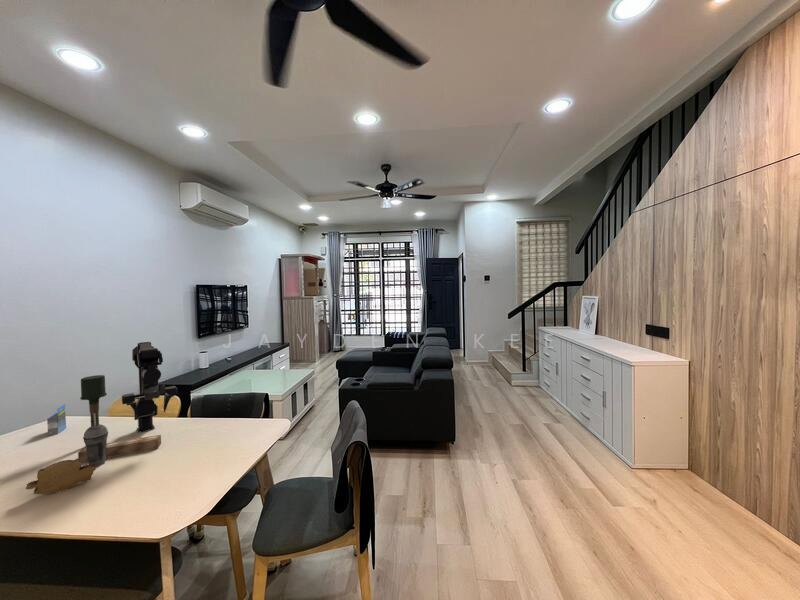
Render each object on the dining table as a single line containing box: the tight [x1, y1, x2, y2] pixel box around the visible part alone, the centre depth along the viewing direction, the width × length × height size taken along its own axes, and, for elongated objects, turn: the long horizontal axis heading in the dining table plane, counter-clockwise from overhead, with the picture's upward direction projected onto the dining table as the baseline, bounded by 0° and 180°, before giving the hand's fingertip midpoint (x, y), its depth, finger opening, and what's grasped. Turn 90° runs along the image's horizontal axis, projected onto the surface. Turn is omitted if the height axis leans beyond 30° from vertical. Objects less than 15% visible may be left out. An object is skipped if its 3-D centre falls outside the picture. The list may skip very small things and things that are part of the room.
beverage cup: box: [82, 413, 109, 468], centre depth 126 cm, size 7×7×20 cm
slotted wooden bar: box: [77, 434, 162, 463], centre depth 136 cm, size 26×5×4 cm, turn 114°
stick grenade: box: [79, 374, 108, 427], centre depth 145 cm, size 8×9×30 cm
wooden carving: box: [25, 458, 97, 495], centre depth 110 cm, size 16×5×10 cm, turn 141°
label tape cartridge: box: [46, 403, 67, 436], centre depth 160 cm, size 9×4×12 cm, turn 28°
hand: (151, 414), depth 139 cm, fingers open, 9 cm apart
